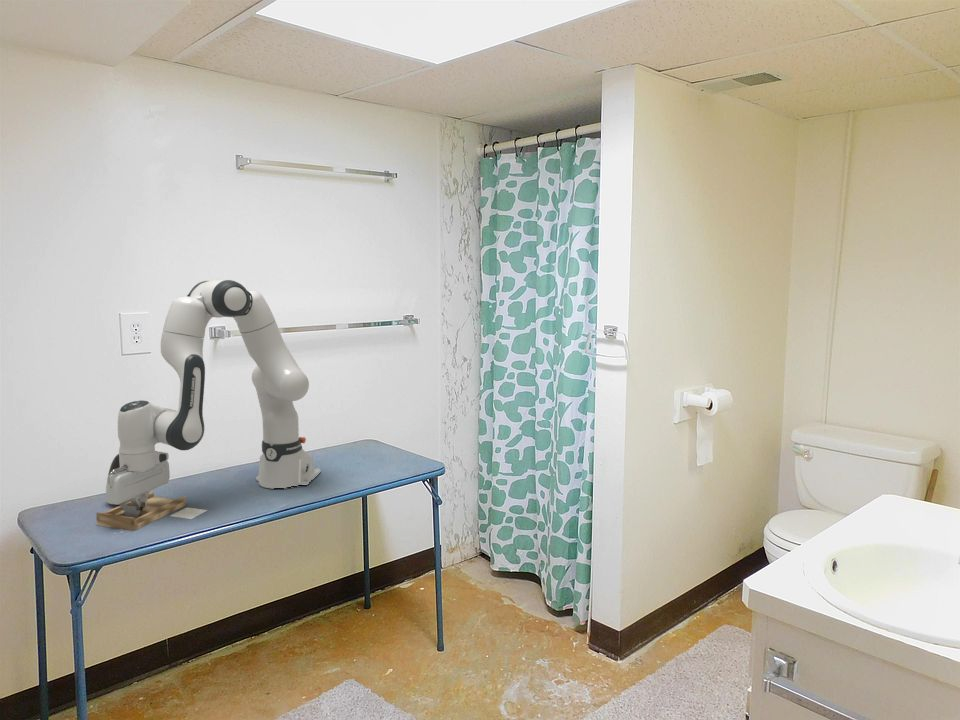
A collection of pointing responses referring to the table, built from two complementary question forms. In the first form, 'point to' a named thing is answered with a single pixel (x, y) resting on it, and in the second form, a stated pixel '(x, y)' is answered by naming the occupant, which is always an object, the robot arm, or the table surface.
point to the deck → (152, 512)
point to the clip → (132, 511)
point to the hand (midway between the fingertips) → (140, 509)
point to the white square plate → (189, 513)
